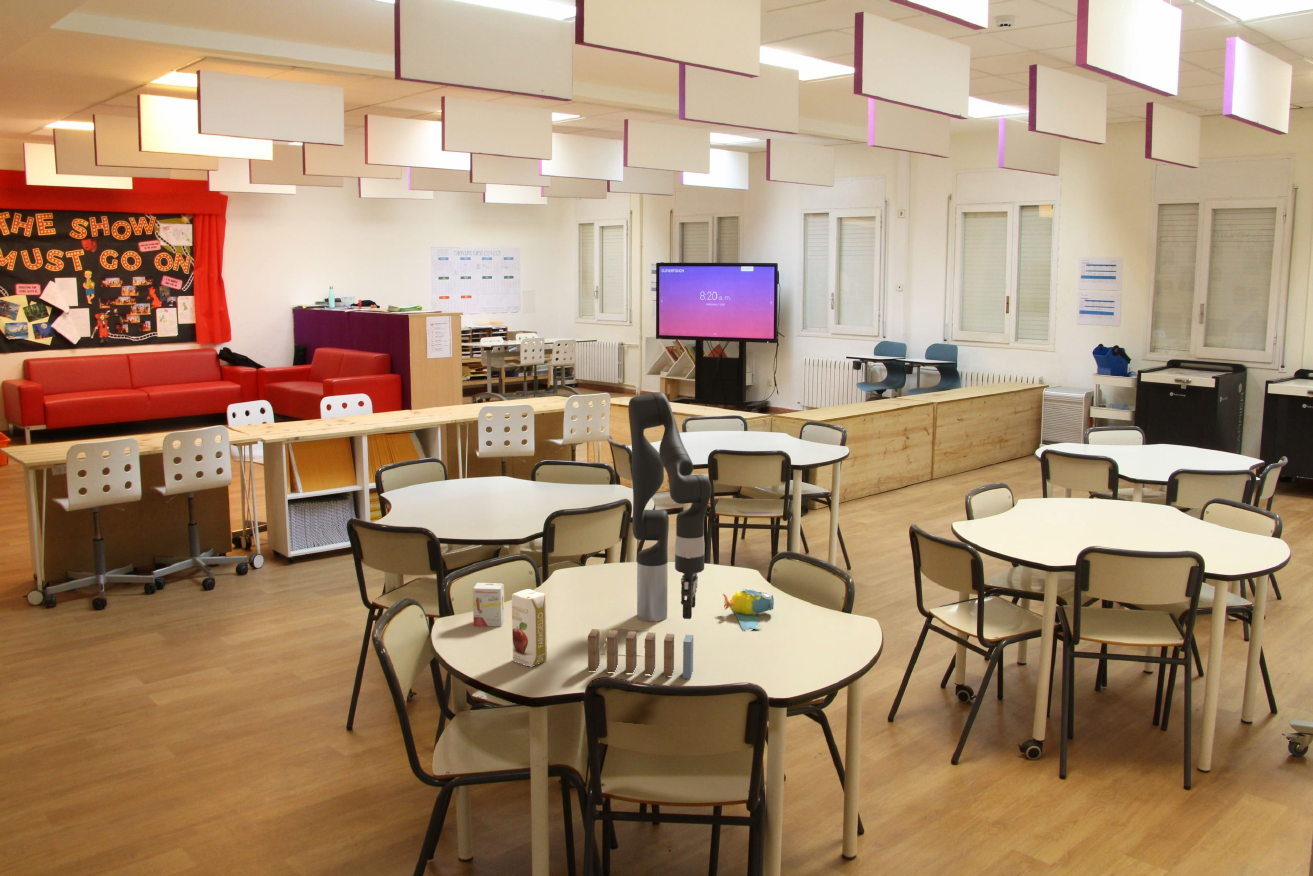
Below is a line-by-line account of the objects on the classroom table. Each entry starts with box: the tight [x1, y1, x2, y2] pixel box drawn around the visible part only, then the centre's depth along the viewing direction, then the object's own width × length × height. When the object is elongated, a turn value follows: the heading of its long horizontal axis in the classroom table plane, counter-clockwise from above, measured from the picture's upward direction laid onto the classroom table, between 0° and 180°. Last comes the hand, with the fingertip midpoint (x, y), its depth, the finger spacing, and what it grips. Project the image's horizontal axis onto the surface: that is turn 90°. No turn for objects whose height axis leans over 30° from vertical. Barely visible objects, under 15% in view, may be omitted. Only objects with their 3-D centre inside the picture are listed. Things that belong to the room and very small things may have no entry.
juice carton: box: [511, 588, 548, 667], centre depth 263 cm, size 8×9×19 cm
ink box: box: [472, 582, 505, 627], centre depth 292 cm, size 9×5×12 cm, turn 87°
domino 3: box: [625, 630, 638, 674], centre depth 258 cm, size 5×2×10 cm, turn 171°
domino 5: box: [663, 633, 675, 677], centre depth 256 cm, size 5×2×10 cm, turn 171°
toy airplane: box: [722, 588, 775, 632], centre depth 301 cm, size 28×9×15 cm
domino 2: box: [606, 629, 619, 673], centre depth 259 cm, size 5×2×10 cm, turn 171°
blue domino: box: [682, 634, 694, 679], centre depth 256 cm, size 5×2×10 cm, turn 171°
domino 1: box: [587, 628, 601, 672], centre depth 259 cm, size 5×2×10 cm, turn 171°
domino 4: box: [644, 631, 656, 675], centre depth 257 cm, size 5×2×10 cm, turn 171°
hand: (689, 612), depth 254 cm, fingers open, 8 cm apart
